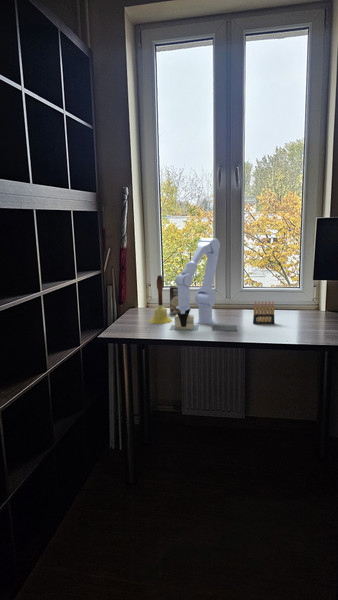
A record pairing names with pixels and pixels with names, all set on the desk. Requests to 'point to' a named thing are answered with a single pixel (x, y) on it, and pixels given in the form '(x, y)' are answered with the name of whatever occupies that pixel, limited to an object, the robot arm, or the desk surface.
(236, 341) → the desk surface
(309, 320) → the desk surface
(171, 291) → the coffee box
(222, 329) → the rubber mat
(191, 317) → the maple block
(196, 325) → the blue-grey flat slab
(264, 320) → the ammunition clip
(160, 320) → the handbell
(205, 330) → the desk surface
